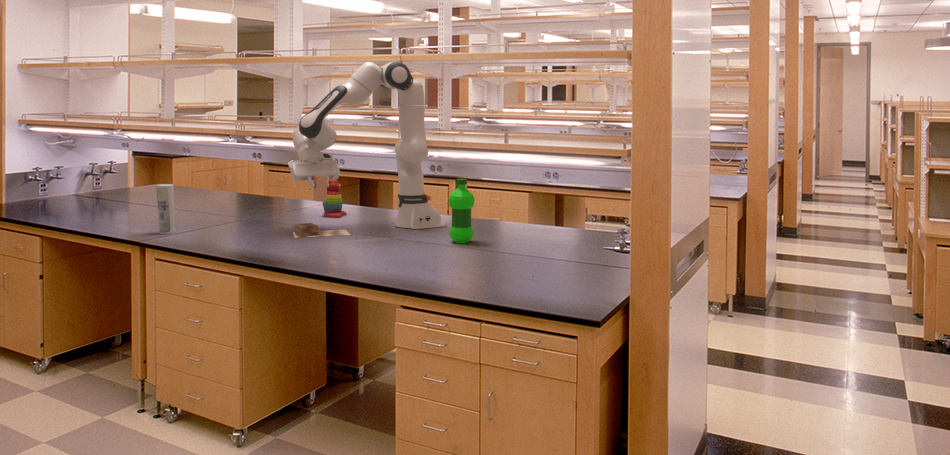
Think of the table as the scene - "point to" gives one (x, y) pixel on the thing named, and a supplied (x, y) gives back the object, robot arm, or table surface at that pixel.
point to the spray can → (166, 208)
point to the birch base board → (327, 233)
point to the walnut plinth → (306, 229)
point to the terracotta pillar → (320, 188)
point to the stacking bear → (333, 200)
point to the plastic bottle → (461, 212)
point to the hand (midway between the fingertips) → (320, 186)
